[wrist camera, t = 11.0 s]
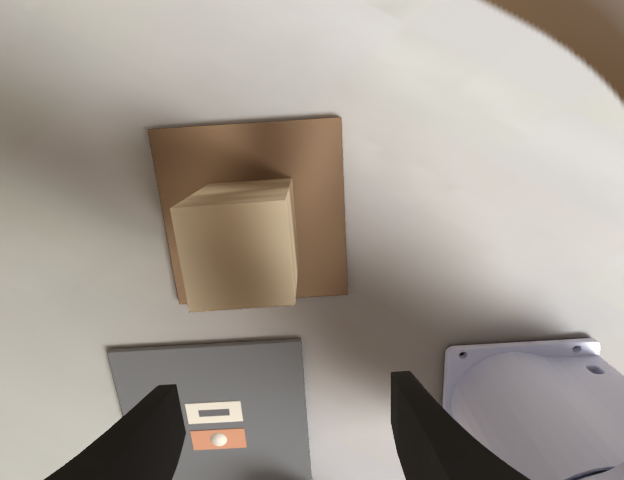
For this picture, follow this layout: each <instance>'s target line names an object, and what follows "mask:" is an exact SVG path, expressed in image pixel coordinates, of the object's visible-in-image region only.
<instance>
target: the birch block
mask: <svg viewBox="0 0 624 480" xmlns="http://www.w3.org/2000/svg"><path fill="white" fill-rule="evenodd" d="M170 212H171V218H172V223H173V228H174V234H175V239H176V244H177V250H178V255H179V260H180V266H181V271H182V276H183V282H184V287H185V293H186V298H187V303H188V309H189V312H200V311H215V310H230V309H244V308H259V307H273V306H288V305H295V301H296V288H297V274H298V261H299V253H298V241H297V230H296V218H295V207H294V196H293V184H292V178H283V179H269V180H256V181H242V182H228V183H215V184H208V185H206V186H205V187H203V188H201V189H200V190H198V191H197V192H195V193H193V194H192V195H190V196H189V197H187V198H185V199H184V200H182V201H181V202H179V203H178V204H176V205H174V206H173V207H171V208H170Z"/></svg>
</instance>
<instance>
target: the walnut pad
mask: <svg viewBox="0 0 624 480" xmlns="http://www.w3.org/2000/svg"><path fill="white" fill-rule="evenodd" d="M148 134H149V140H150V145H151V151H152V156H153V162H154V167H155V173H156V178H157V184H158V189H159V195H160V200H161V206H162V211H163V217H164V222H165V228H166V233H167V239H168V244H169V250H170V255H171V261H172V266H173V272H174V277H175V283H176V288H177V294H178V299H179V304H188V303H187V298H186V293H185V287H184V282H183V276H182V271H181V266H180V260H179V255H178V250H177V244H176V239H175V234H174V228H173V223H172V218H171V212H170V208H171V207H173V206H174V205H176V204H178V203H179V202H181V201H182V200H184V199H185V198H187V197H189V196H190V195H192V194H193V193H195V192H197V191H198V190H200V189H201V188H203V187H205V186H206V185H208V184H215V183H228V182H242V181H256V180H269V179H283V178H292V184H293V196H294V207H295V218H296V230H297V241H298V253H299V261H298V274H297V288H296V298H298V297H316V296H333V295H348V291H347V262H346V234H345V206H344V177H343V149H342V121H341V117H337V118H321V119H305V120H290V121H274V122H258V123H242V124H226V125H210V126H195V127H179V128H163V129H148Z"/></svg>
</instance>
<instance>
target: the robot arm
mask: <svg viewBox="0 0 624 480" xmlns="http://www.w3.org/2000/svg"><path fill="white" fill-rule="evenodd" d="M575 346H576V348H574V349H573V347H575ZM600 348H601V345H600V343H599V342H598V341H597V340H595V339H594V338H583V339H565V340H548V341H530V342H512V343H495V344H477V345H459V346H451V347H449V348H447V350H446V352H445V365H444V385H443V404H442V406H441V405H440V404H439V403H438V402H437V401H436V400H435V399H434V398H433V397H432V396H431V395H430V393H429V392H428V391H427V390H426V389H425V388H424V387H423V386H422V384H421V383H420V382H419V381H418V380H417V379H416V377H415V376H414V375H413V374H412V373H411V372H410V371H401V372H391V425H392V430H393V435H394V440H395V444H396V449H397V453H398V456H399V459H400V463H401V466H402V469H403V472H404V475H405V478H406V480H624V376H623V375H622V374H621V373H619V372H618V371H617V370H616V369H615V368H613V367H612V366H611V365H610V364H608V363H607V362H606V361H605V360H603V359H602V358H601V357H600V356H599V354H600ZM461 352H465V353H464V354H463V355H461V356H460V355H459V354H460V353H461ZM185 436H186V430H185V425H184V420H183V415H182V410H181V405H180V400H179V395H178V390H177V385H176V384H169V385H158V386H157V387H156V388H154V389H153V390H152V391H151V392H150V393H149V394H147V395H146V396H145V397H144V398H143V399H142V400H141V401H140V402H139V403H138V404H136V405H135V406H134V407H133V408H132V409H131V410H130V411H129V412H128V413H127V414H125V415H124V416H123V417H122V418H121V419H120V420H119V421H118V422H116V423H115V424H114V425H113V426H112V427H111V428H110V429H109V430H107V431H106V432H105V433H104V434H103V435H101V436H100V437H99V438H98V439H97V440H95V441H94V442H93V443H92V444H90V445H89V446H88V447H87V448H86V449H84V450H83V451H82V452H81V453H80V454H78V455H77V456H76V457H74V458H73V459H72V460H70V461H69V462H68V463H66V464H65V465H64V466H62V467H61V468H60V469H58V470H57V471H55V472H54V473H53V474H51V475H50V476H49V477H47V478H46V479H44V480H172V478H173V476H174V473H175V471H176V468H177V465H178V462H179V458H180V455H181V451H182V447H183V443H184V440H185Z"/></svg>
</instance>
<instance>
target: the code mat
mask: <svg viewBox="0 0 624 480" xmlns="http://www.w3.org/2000/svg"><path fill="white" fill-rule="evenodd" d="M107 355H108V359H109V363H110V366H111V370H112V374H113V378H114V382H115V386H116V390H117V394H118V398H119V402H120V406H121V409H122V413H123V416H124V415H125V414H127V413H128V412H129V411H130V410H131V409H132V408H133V407H134V406H135V405H136V404H138V403H139V402H140V401H141V400H142V399H143V398H144V397H145V396H146V395H147V394H149V393H150V392H151V391H152V390H153V389H154V388H156V387H157V386H158V385H169V384H176V385H177V390H178V395H179V400H180V405H181V410H182V415H183V420H184V425H185V430H186V436H185V440H184V443H183V447H182V451H181V455H180V458H179V462H178V465H177V468H176V471H175V473H174V476H173V478H172V480H312V476H311V463H310V451H309V438H308V425H307V413H306V400H305V387H304V375H303V362H302V349H301V338H297V339H279V340H261V341H244V342H226V343H209V344H191V345H174V346H156V347H139V348H121V349H110V350H109V351H108V352H107Z"/></svg>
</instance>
